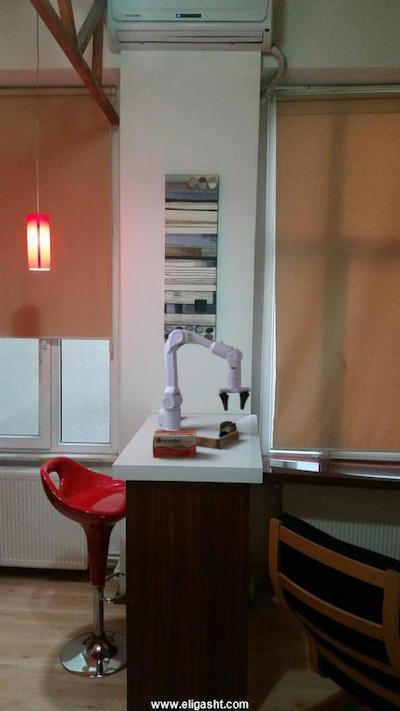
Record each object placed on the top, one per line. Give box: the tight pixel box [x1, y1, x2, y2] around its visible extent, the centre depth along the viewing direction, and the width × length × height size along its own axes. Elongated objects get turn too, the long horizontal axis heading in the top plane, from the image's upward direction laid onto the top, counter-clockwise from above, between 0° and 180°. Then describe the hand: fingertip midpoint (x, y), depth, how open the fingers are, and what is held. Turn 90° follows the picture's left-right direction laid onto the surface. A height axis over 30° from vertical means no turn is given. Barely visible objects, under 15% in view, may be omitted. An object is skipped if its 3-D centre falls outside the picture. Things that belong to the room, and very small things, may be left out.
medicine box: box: [152, 430, 197, 459], centre depth 173 cm, size 15×8×8 cm, turn 91°
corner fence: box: [196, 430, 240, 450], centre depth 192 cm, size 13×18×4 cm
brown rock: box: [218, 420, 238, 438], centre depth 203 cm, size 18×7×6 cm, turn 166°
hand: (234, 409), depth 206 cm, fingers open, 7 cm apart
